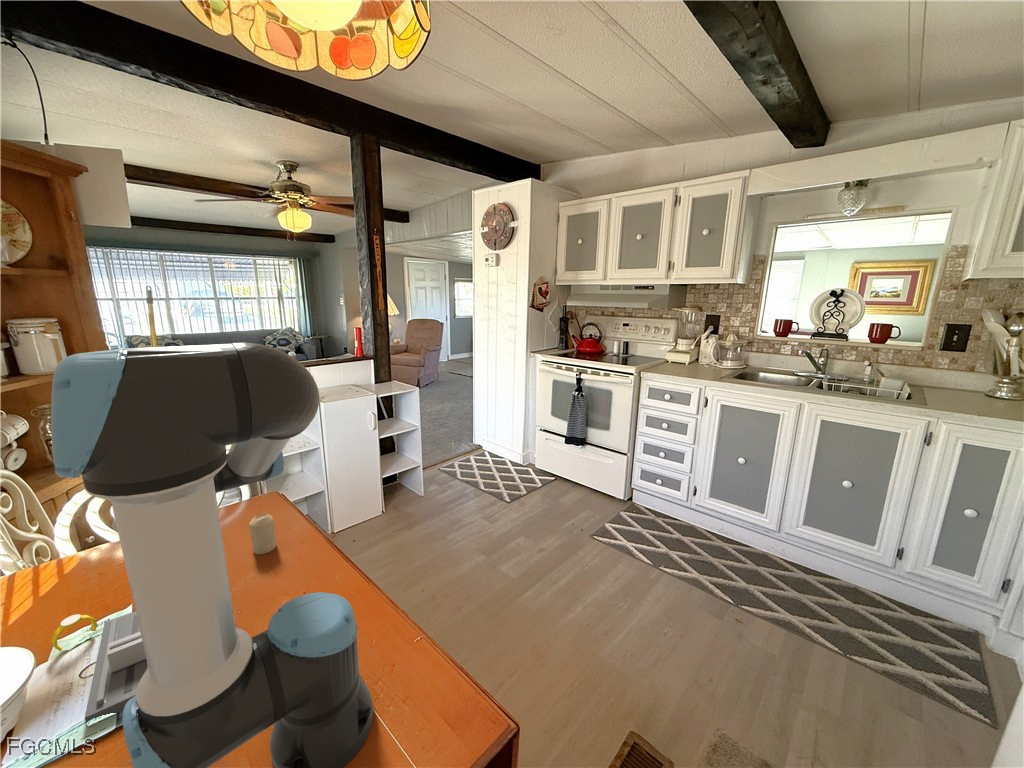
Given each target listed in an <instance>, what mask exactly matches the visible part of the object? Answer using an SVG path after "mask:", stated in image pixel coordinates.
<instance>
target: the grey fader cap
mask: <svg viewBox="0 0 1024 768" xmlns="http://www.w3.org/2000/svg"><path fill="white" fill-rule="evenodd" d="M107 657H108V661H109V665H110V669H111V673H113V672H115V671H118V670H120V669H122V668H125V667H127V666H130V665H132V664H135V663H137V662H139V661H142V660H144V659H146V655H145V651H144V646H143V642H142V637H141V633H140V632H138V633H135V634H132V635H130V636H127V637H125V638H122V639H119V640H117V641H114V642H111V643H109V647H108V653H107Z"/></svg>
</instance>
